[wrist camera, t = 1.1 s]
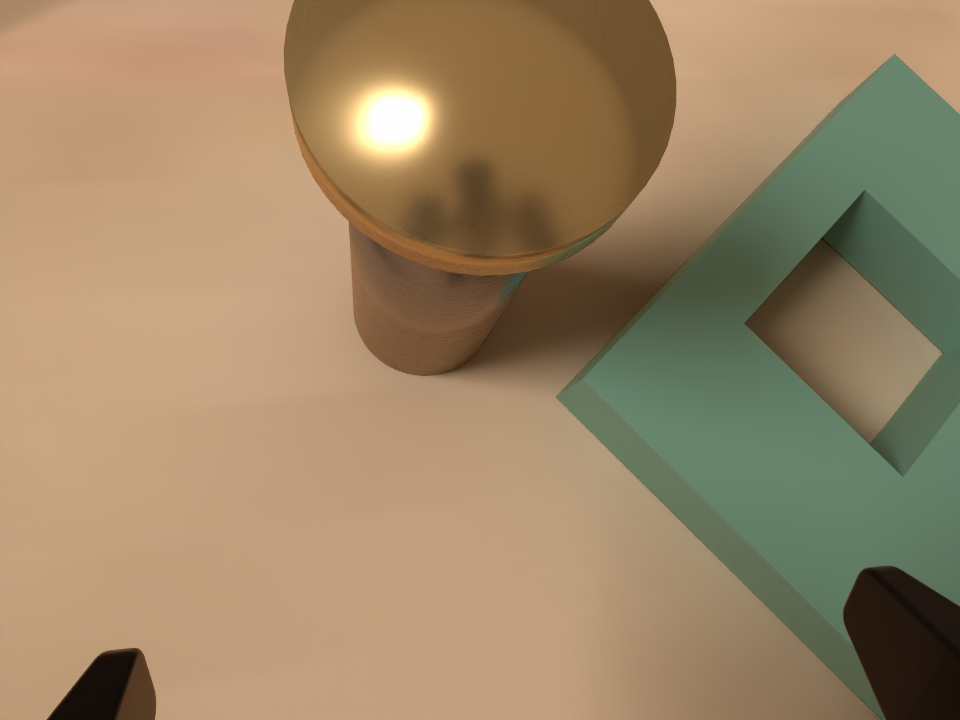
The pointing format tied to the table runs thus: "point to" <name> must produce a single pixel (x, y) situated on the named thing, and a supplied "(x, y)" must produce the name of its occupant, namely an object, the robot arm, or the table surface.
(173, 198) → the table surface
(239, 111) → the table surface
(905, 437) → the jig
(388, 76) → the metal peg
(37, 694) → the table surface
